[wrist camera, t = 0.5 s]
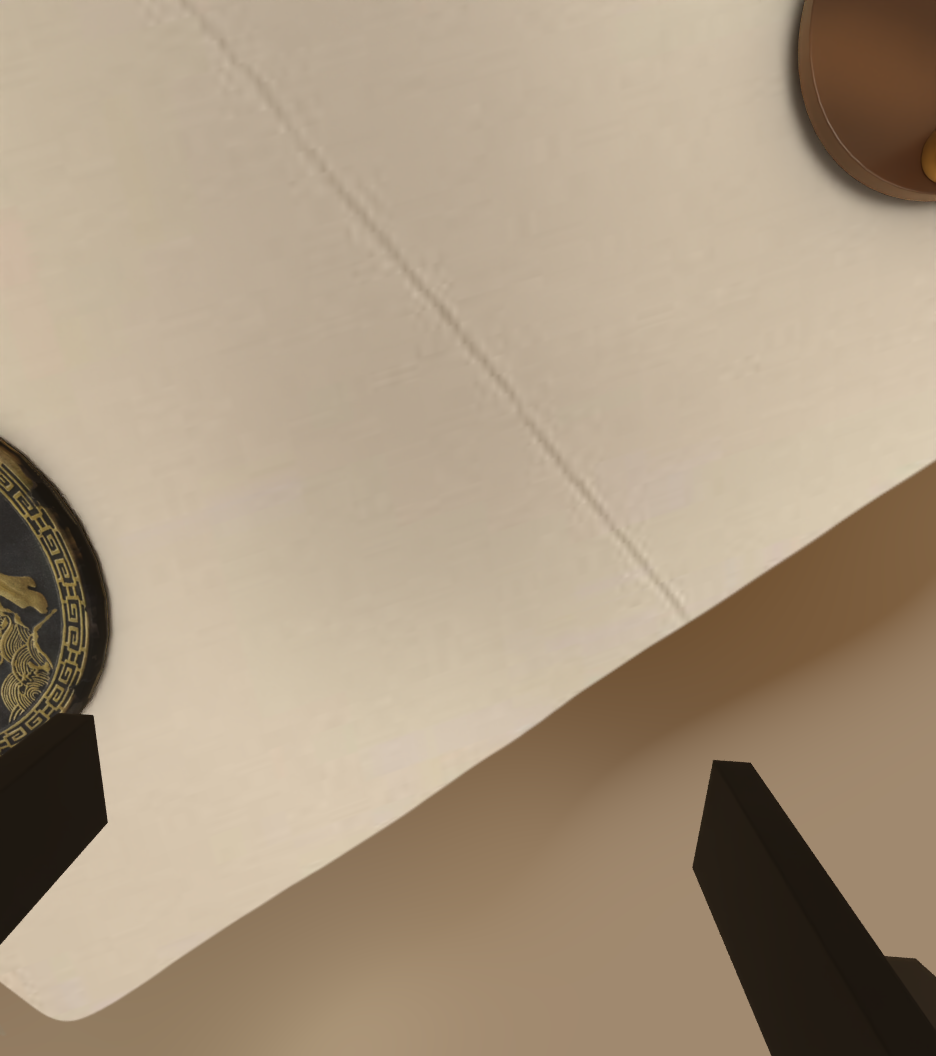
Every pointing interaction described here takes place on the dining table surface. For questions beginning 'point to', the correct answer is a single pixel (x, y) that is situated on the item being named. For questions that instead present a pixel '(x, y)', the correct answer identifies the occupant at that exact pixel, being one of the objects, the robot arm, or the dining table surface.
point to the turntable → (873, 90)
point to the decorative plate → (44, 604)
